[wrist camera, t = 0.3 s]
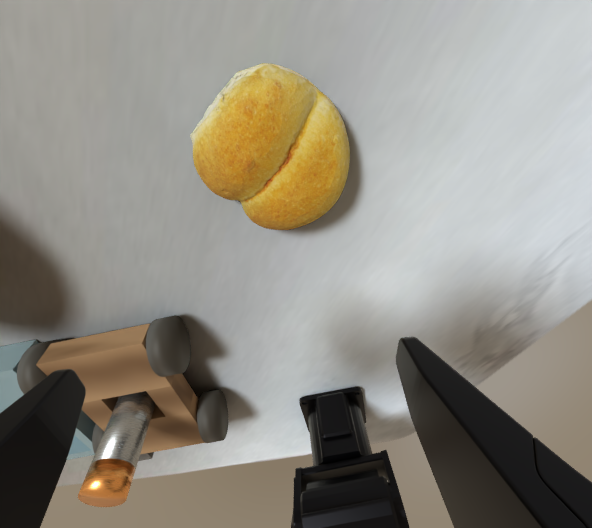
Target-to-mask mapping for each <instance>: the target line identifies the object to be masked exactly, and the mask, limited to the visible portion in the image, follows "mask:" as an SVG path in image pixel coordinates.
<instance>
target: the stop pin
mask: <svg viewBox="0 0 592 528" xmlns="http://www.w3.org/2000/svg"><path fill="white" fill-rule="evenodd" d="M155 404H156V403H155V402H154V401H153V399H152V398H151V397H150V395H149V394H148V393H147V392H146V391H143V392H138V393H133V394H128V395H123V396H119V398H118V400H117V403H116V405H115V407H114V410H113V412H112V415H111V417H110V419H109V422H108V424H107V427H106V429H105V432H104V434H103V436H102V439H101V441H100V444H99V446H98V448H97V451H96V453H95V456H94V458H93V460H92V463H91V465H90V468H89V470H88V473H87V475H86V477H85V480H84V482H83V485H82V487H81V489H80V492H79V494H78V498H79V500H80V501H82V502H83V503H85V504H88V505H92V506H97V507H112V506H117V505H120V504H123V503H124V502H125V501H126V499H127V496H128V492H129V489H130V486H131V482H132V479H133V476H134V473H135V469H136V466H137V463H138V460H139V456H140V453H141V450H142V446H143V443H144V440H145V437H146V433H147V430H148V427H149V424H150V420H151V417H152V414H153V411H154V407H155Z"/></svg>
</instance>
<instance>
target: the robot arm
mask: <svg viewBox="0 0 592 528" xmlns="http://www.w3.org/2000/svg"><path fill="white" fill-rule="evenodd" d="M396 364H397V368H398V372H399V375H400V379H401V383H402V386H403V390H404V394H405V397H406V401H407V405H408V408H409V412H410V415H411V418H412V421H413V424H414V427H415V429H416V432H417V434H418V437H419V439H420V442H421V444H422V447H423V449H424V452H425V454H426V457H427V460H428V462H429V464H430V467H431V470H432V472H433V475H434V477H435V480H436V482H437V485H438V487H439V489H440V492H441V495H442V498H443V500H444V502H445V505H446V508H447V510H448V513H449V515H450V518H451V520H452V523H453V525H454V528H592V482H591V481H589V480H588V479H587V478H585V477H584V476H583V475H581V474H580V473H579V472H577V471H576V470H575V469H574V468H572V467H571V466H570V465H569V464H567V463H566V462H565V461H563V460H562V459H561V458H560V457H559V456H557V455H556V454H555V453H554V452H552V451H551V450H550V449H549V448H548V447H546V446H545V445H544V444H543V443H542V442H540V441H539V440H538V439H537V438H533V436H532V434H531V433H529V432H528V431H527V430H526V429H525V428H524V427H522V426H521V425H520V424H519V423H518V422H516V421H515V420H514V419H513V418H512V417H510V416H509V415H508V414H507V413H506V412H504V411H503V410H502V409H501V408H500V407H498V406H497V405H496V404H495V403H494V402H492V401H491V400H490V399H489V398H488V397H486V396H485V395H484V394H483V393H482V392H480V391H479V390H478V389H477V388H476V387H474V386H473V385H472V384H471V383H470V382H468V381H467V380H466V379H465V378H464V377H462V376H461V375H460V374H459V373H458V372H456V371H455V370H454V369H453V368H452V367H450V366H449V365H448V364H447V363H446V362H445V361H443V360H442V359H441V358H440V357H439V356H437V355H436V354H435V353H434V352H433V351H431V350H430V349H429V348H428V347H427V346H425V345H424V344H423V343H422V342H421V341H419V340H418V339H417V338H415V337H405V338H401V339H400V340H399V343H398V349H397V355H396ZM85 395H86V389H85V386H84V384H83V383H82V381H81V380H80V378H79V377H78V375H77V374H76V372H75V371H74V370H72V369H63V370H56V371H54V372H52V373H51V374H50V375H48V376H47V377H46V378H44V379H43V380H42V381H41V382H39V383H38V384H37V385H36V386H34V387H33V388H32V389H30V390H29V391H28V392H27V393H25V394H24V395H23V396H22V397H20V398H19V399H18V400H16V401H15V402H14V403H13V404H11V405H10V406H9V407H8V408H6V409H5V410H4V411H2V412H1V413H0V528H40V526H41V523H42V521H43V518H44V516H45V513H46V511H47V508H48V505H49V503H50V500H51V498H52V495H53V493H54V490H55V488H56V485H57V483H58V480H59V478H60V475H61V472H62V470H63V467H64V465H65V462H66V460H67V457H68V454H69V451H70V448H71V445H72V442H73V438H74V435H75V431H76V428H77V424H78V420H79V417H80V413H81V410H82V406H83V403H84V399H85ZM299 401H300V406H301V409H302V412H303V415H304V418H305V421H306V424H307V427H308V430H309V432H310V439H311V448H312V457H313V466H312V467H307V468H296V477H295V478H294V508H293V516H292V523H291V528H409V524H408V521H407V517H406V513H405V510H404V506H403V503H402V500H401V496H400V493H399V489H398V486H397V483H396V480H395V477H394V473H393V470H392V467H391V464H390V461H389V458H388V454H387V451H386V450H384V451H381V452H380V453H375V454H372V451H371V447H370V443H369V440H368V436H367V432H366V428H365V423H366V417H365V410H364V403H363V396H362V391H361V388H359V387H355V388H350V389H345V390H339V391H334V392H329V393H323V394H318V395H312V396H307V397H302V398H300V400H299ZM387 480H388V482H387Z"/></svg>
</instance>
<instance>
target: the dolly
mask: <svg viewBox="0 0 592 528" xmlns="http://www.w3.org/2000/svg"><path fill="white" fill-rule="evenodd" d="M190 355H191V345H190V338H189V334H188V331H187V328H186V326H185V324H184V322H183V321H182V319H181V318H180V317H178V316H171V317H166V318H161V319H156V320H154V321H153V322H152V323H151V324H145V325H140V326H135V327H130V328H125V329H120V330H115V331H110V332H105V333H100V334H96V335H91V336H86V337H81V338H76V339H71V340H66V341H64V340H53V341H48V342H43V343H38V344H35V345H33V346H31V347H30V348H28V349H27V350H26V351H25V352H24V354H23V355H22V357H21V359H20V361H19V364H18V368H17V381H18V385H19V387H20V389H21V391H22V392H23V394H25V393H27V392H28V391H29V390H30V389H32V388H33V387H34V386H36V385H37V384H38V383H39V382H41V381H42V380H43V379H44V378H46V377H47V376H48V375H50V374H51V373H52V372H54V371H56V370H63V369H72V370H74V371H75V372H76V374H77V375H78V377H79V378H80V380H81V381H82V383H83V384H84V386H85V389H86V395H85V399H84V403H83V406H82V410H83V411H84V412H85V413H86V414H87V415H88V416H89V417H90V418H91V419H92V420H93V421H94V422H95V423H96V424H95V427H94V430H93V436H92V445H93V451H94V453H96V451H97V448H98V446H99V444H100V441H101V439H102V436H103V434H104V432H105V429H106V427H107V424H108V422H109V419H110V417H111V415H112V412H113V410H114V407H115V405H116V403H117V400H118V398H119V396H123V395H128V394H133V393H138V392H143V391H146V392H147V393H148V394H149V395H150V397H151V398H152V399H153V401H154V402H155V403H156V404H155V407H154V411H153V414H152V417H151V420H150V424H149V427H148V430H147V433H146V437H145V440H144V443H143V446H142V450H141V453H140V456H139V460H138V461H141V460H146V459H152V456H153V453H154V452H156V451H161V450H167V449H172V448H178V447H183V446H189V445H194V444H200V443H210V442H216V441H221V440H224V439H225V437H226V434H227V430H228V408H227V403H226V399H225V396H224V394H223V392H222V391H221V390H215V391H209V392H204V393H202V395H201V396H200V398H199V399H198V398H197V396H196V395H195V393H194V392H193V390H192V388H191V387H190V385H189V384H188V382H187V381H186V379H185V378H184V376H183V374H182V373H184V372H185V371H186V369H187V368H188V365H189V362H190Z"/></svg>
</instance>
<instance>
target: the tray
mask: <svg viewBox="0 0 592 528" xmlns="http://www.w3.org/2000/svg"><path fill="white" fill-rule="evenodd" d="M38 343H39V342H38V341H37V340H31V341H26V342H21V343H16V344H11V345H6V346H2V347H0V413H1V412H2V411H4V410H5V409H6V408H8V407H9V406H10V405H11V404H13V403H14V402H15V401H16V400H18V399H19V398H20V397H22V396H23V395H24V394H23V392H22V391H21V389H20V387H19V385H18V381H17V368H18V364H19V361H20V359H21V357H22V355H23V354H24V352H25V351H26V350H27V349H28V348H30V347H31V346H33V345H35V344H38ZM95 424H96V423H95V422H94V421H93V420H92V419H91V418H90V417H89V416H88V415H87V414H86V413H85V412H84V411H83V410H81V413H80V417H79V420H78V424H77V428H76V431H75V435H74V438H73V442H72V445H71V448H70V451H69V454H68V457H67V460H68V459H74V458H79V457H85V456H90V455H95V453H94V451H93V445H92V436H93V430H94V427H95Z"/></svg>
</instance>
